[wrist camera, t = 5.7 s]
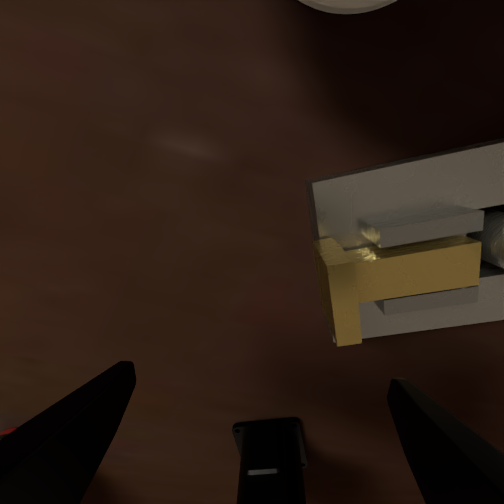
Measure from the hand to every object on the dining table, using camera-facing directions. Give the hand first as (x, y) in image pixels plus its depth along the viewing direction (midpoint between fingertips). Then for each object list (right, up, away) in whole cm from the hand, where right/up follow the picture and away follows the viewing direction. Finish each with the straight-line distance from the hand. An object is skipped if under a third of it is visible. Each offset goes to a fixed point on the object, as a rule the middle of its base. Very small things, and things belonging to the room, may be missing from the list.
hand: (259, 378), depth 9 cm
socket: (+11, +5, +9) cm, 15 cm away
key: (+8, +4, +6) cm, 11 cm away
